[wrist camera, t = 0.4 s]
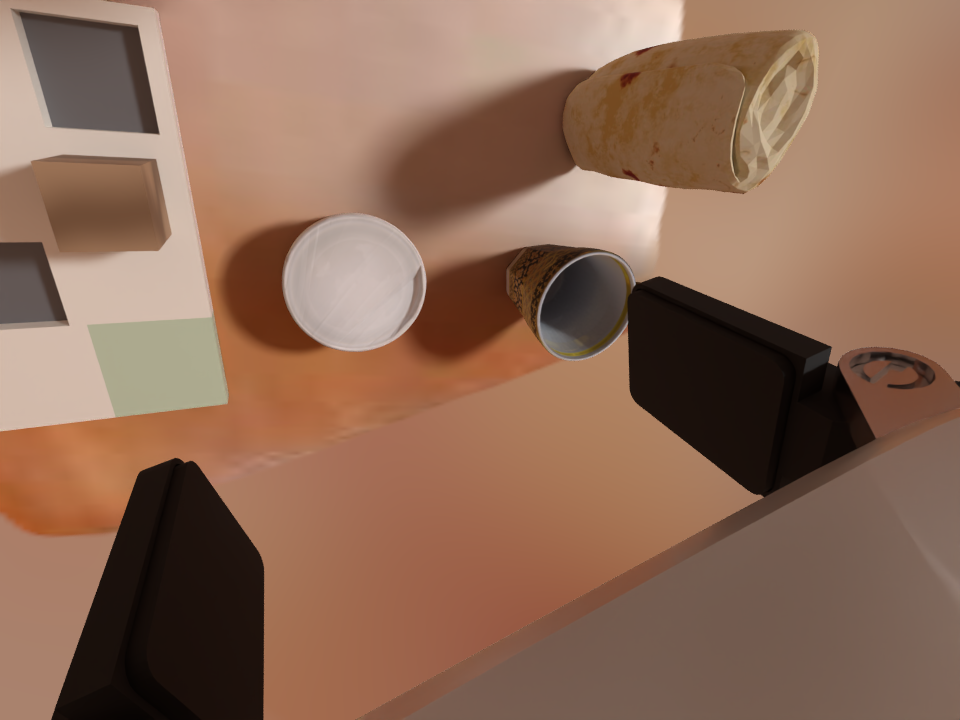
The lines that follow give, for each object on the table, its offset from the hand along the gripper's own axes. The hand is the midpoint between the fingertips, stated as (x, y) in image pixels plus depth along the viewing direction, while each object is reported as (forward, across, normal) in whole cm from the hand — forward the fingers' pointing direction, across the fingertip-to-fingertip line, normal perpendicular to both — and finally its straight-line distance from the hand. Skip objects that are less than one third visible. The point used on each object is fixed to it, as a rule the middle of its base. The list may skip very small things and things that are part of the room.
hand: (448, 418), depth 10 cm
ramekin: (+34, -1, +7) cm, 35 cm away
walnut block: (+32, +12, -3) cm, 34 cm away
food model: (+34, -26, 0) cm, 42 cm away
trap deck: (+34, +17, -2) cm, 38 cm away
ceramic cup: (+34, -20, +13) cm, 41 cm away
